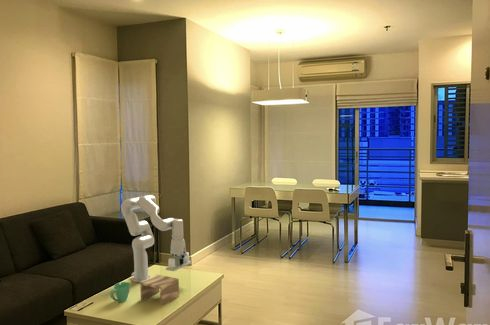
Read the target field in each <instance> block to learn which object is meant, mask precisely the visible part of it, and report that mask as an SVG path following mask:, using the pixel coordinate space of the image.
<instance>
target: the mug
mask: <svg viewBox="0 0 490 325" xmlns="http://www.w3.org/2000/svg"><path fill="white" fill-rule="evenodd" d="M113 288H114V289H111V290H110V292H109V293H110V298H111V299H112V300H113V301H115V302H126V301H127V299H128V296H129V293H130V288H131V283H130V282H128V281H124V282H123V281H122V282H120V283H119V282H117V283H115V284H114V285H113ZM114 293H115V295H116V296H115V297H114Z"/></svg>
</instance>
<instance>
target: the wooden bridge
mask: <svg viewBox="0 0 490 325" xmlns="http://www.w3.org/2000/svg"><path fill="white" fill-rule="evenodd" d="M179 283H180V280H179V278H177V277H172V276H167V275H166V276H165V275H161V274H155V275H153V276H152V277H151V276H150V278H148V279H146V280H144V281H142V282H139V288H140V289H139V290H140V300H141V301H144V300H146V299H148V298H150V297H152V296H154V295H155V294H156V295H157V294H158V293H159V292H160V306H164V305H165V304H168V303H170V302H171V301H173V300H174V299H177V298H178V297H180V286H179V285H180V284H179Z"/></svg>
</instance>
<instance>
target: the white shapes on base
mask: <svg viewBox="0 0 490 325" xmlns="http://www.w3.org/2000/svg"><path fill="white" fill-rule="evenodd" d="M186 252H187V251H186ZM180 259H181V258H180V255H176V256H175V258H173V257H169V258H168V259H167V260H168V263H167V264H168V266H167V267H165V270H166V271H170V272H175V271H178V270H179V269H182V268H184V267H186V266H189V265H190V264H193V263H192V262H193V261H192V260H190V254H189V252H187V255H186V256H185V257H184V258H183V260H184V263H183V264H182V265H180Z"/></svg>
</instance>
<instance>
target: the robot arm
mask: <svg viewBox="0 0 490 325" xmlns="http://www.w3.org/2000/svg"><path fill="white" fill-rule="evenodd" d="M137 209H142V210H143V211H144V212H145V213H146V214H147V215H148V216H150V221H151V223H152V225H153V226H154V227H155V228H156V229H158V230H160V231H162V232H164V231H165V232H166V231H168V230H171V231H172V232H171V235H170V237H171V241H170V251H169V253H170V254H171V256H172V258H175V256H176V255H180V258H181V259H180V265H182V264H183V263H184V260H183V258H184V257H185V256H186V255H187V248H186V240H185V239H184V235H185V234H184V219H180V218H174V217H168V218H164V219H163V218H161V217H160V216H159V215H158V214H159V212H160V206H158V204H157V199H156V196H154V195H152V194H146V195H141V196H136V197H130V198H127V199H124V200H123V202H122V203H121V205H120V211H121V214H122V216H123V218H124V220H125V223H126V225H127V228H128V232H129V234H130V235H131V236H133V237H134V236H135V238H134V239H132V242H131V247H132V251H133V264H134V266H133V268H134V269H133V270H134V271H133V272H132V273H131V275H130V276H132V282H133V283H140V282H142V281H144V280H146V279H148V278H151V276H150V275H149V267H148V266H149V264H148V263H149V262H148V259H149V258H148V252H147V251H146V249H148V248H150V247H153V245H154V244H155V237H154V234H153V232H152V229H151V226H150V224H149V222H148V221H146V220H144V219H143V220H139V218H138V215H137V214H136V213H135V212H134V211H133V210H137ZM136 236H137V237H136Z"/></svg>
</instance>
